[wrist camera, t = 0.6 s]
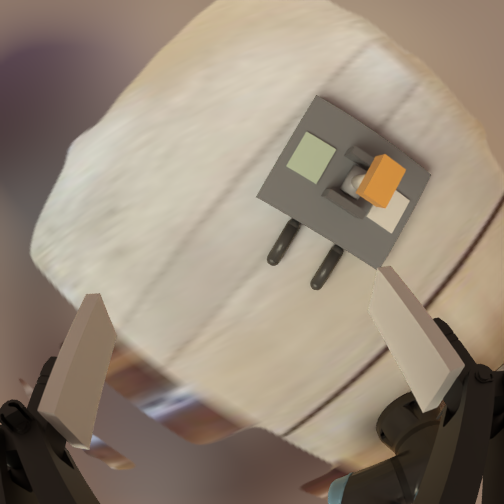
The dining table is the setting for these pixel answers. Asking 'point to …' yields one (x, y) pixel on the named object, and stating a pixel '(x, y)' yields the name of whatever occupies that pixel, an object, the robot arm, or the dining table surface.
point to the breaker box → (338, 189)
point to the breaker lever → (374, 181)
